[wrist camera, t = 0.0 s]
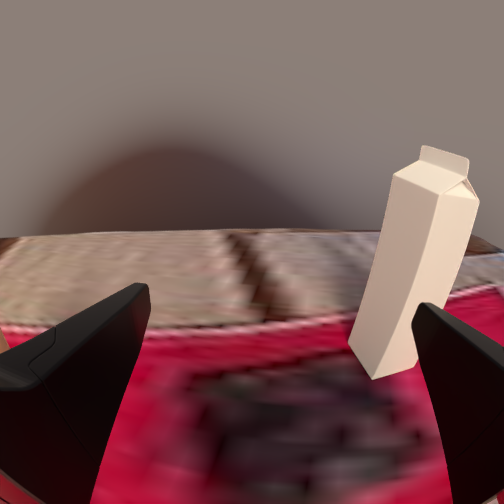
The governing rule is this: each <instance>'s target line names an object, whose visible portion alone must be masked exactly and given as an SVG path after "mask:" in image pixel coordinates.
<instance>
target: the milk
mask: <svg viewBox="0 0 504 504" xmlns="http://www.w3.org/2000/svg"><path fill="white" fill-rule="evenodd" d="M468 168H469V160H468V159H467V158H465V157H462V156H459V155H455V154H453V153H449V152H446V151H443V150H439V149H436V148H432V147H429V146H425V145H423V146H422V147H421V152H420V157H419V160H418V161H416V162H415V163H413V164H411V165H409V166H407V167H406V168H403V169H402V170H400V171H398V172H396V173H394V174H393V178H392V183H391V188H390V193H389V198H388V203H387V208H386V212H385V217H384V221H383V225H382V230H381V234H380V238H379V242H378V246H377V249H376V253H375V257H374V261H373V264H372V268H371V271H370V275H369V278H368V282H367V285H366V289H365V292H364V295H363V298H362V301H361V305H360V308H359V311H358V314H357V317H356V320H355V323H354V326H353V329H352V332H351V334H350V337H349V340H348V344H349V346H350V347H351V349H352V350H353V352H354V353H355V355H356V357H357V358H358V360H359V361H360V363H361V364H362V366H363V367H364V369H365V370H366V372H367V373H368V375H369V376H370V378H371V379H372V380H373V379H377V378H380V377H384V376H387V375H391V374H394V373H397V372H400V371H404V370H407V369H410V368H413V367H414V365H415V364H416V362H417V360H418V354H417V350H416V346H415V341H414V337H413V333H412V329H411V322H412V319H413V317H414V314H415V312H416V310H417V307H418V305H419V304H420V303H421V302H430V303H432V304H434V305H436V306H438V307H439V308H441V309H443V307H444V305H445V303H446V300H447V298H448V295H449V293H450V291H451V288H452V286H453V283H454V281H455V278H456V275H457V273H458V270H459V267H460V265H461V262H462V259H463V256H464V253H465V250H466V247H467V244H468V241H469V238H470V235H471V231H472V228H473V224H474V221H475V217H476V214H477V210H478V206H479V199H478V197H477V195H476V193H475V192H474V190H473V188H472V186H471V185H470V183H469V181H468V179H467V174H468Z"/></svg>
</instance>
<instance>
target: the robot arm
mask: <svg viewBox="0 0 504 504" xmlns="http://www.w3.org/2000/svg"><path fill="white" fill-rule="evenodd" d="M150 312H151V303H150V294H149V287H148V285H147V284H144V283H133V284H132V285H130V286H128V287H126V288H124V289H122V290H120V291H118V292H117V293H115V294H113V295H111V296H109V297H107V298H105V299H104V300H102V301H100V302H98V303H96V304H94V305H92V306H91V307H89V308H87V309H85V310H83V311H81V312H80V313H78V314H76V315H74V316H72V317H70V318H69V319H67V320H65V321H63V322H61V323H60V324H58V325H56V328H55V327H52V328H51V329H49V330H47V331H45V332H43V333H42V334H40V335H38V336H36V337H34V338H32V339H30V340H28V341H26V342H24V343H22V344H20V345H18V346H15V347H13V348H11V349H9V350H7V351H5V352H3V353H0V504H90V500H91V496H92V493H93V489H94V486H95V482H96V479H97V475H98V472H99V469H100V467H99V466H100V465H101V461H102V458H103V455H104V452H105V449H106V446H107V442H108V439H109V436H110V433H111V430H112V427H113V424H114V421H115V418H116V416H117V413H118V410H119V407H120V404H121V401H122V399H123V396H124V393H125V390H126V387H127V385H128V382H129V379H130V377H131V374H132V371H133V369H134V366H135V364H136V361H137V358H138V356H139V353H140V350H141V346H142V342H143V338H144V334H145V331H146V327H147V323H148V319H149V316H150ZM411 329H412V333H413V337H414V341H415V346H416V350H417V354H418V359H419V363H420V366H421V369H422V372H423V375H424V379H425V382H426V385H427V388H428V392H429V395H430V398H431V402H432V405H433V409H434V413H435V416H436V420H437V424H438V428H439V432H440V436H441V440H442V445H443V449H444V454H445V459H446V463H447V469H448V475H449V480H450V486H451V492H452V499H453V504H487V503H489V502H490V501H492V500H494V499H496V498H497V500H498V503H499V504H504V347H502V346H501V345H500V344H498V343H497V342H495V341H494V340H492V339H490V338H489V337H487V336H486V335H484V334H482V333H481V332H479V331H478V330H476V329H474V328H473V327H471V326H469V325H468V324H466V323H464V322H463V321H461V320H459V319H458V318H456V317H454V316H453V315H451V314H449V313H448V312H446V311H444V310H443V309H441V308H439V307H438V306H436V305H434V304H432V303H430V302H421V303H420V304H419V305H418V307H417V310H416V312H415V314H414V317H413V319H412V322H411Z"/></svg>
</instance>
